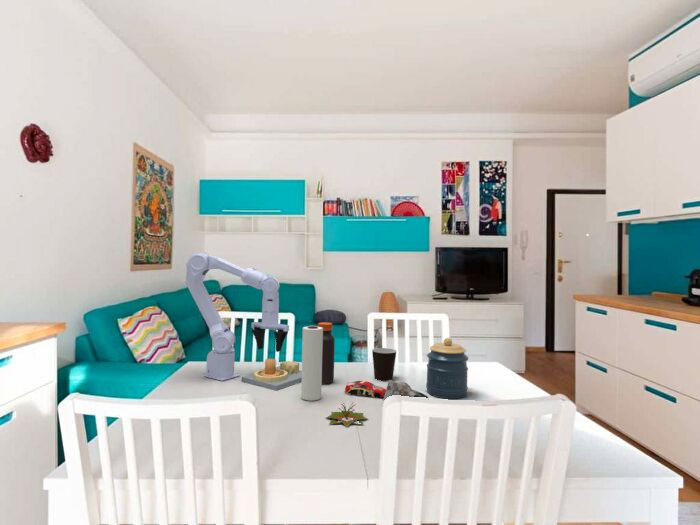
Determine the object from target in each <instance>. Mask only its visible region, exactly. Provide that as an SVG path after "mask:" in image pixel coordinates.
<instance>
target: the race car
mask: <svg viewBox="0 0 700 525" xmlns="http://www.w3.org/2000/svg"><path fill="white" fill-rule="evenodd" d="M386 389H387V388H385V387H382V386H378V385H375V384H374V383H372V382H370V381H367V380H357V381H356V380H355V381H352V382H347V383H346V385H345V388H344V393H345V394H348V395H350V396H353V397H355V396H358V397H359V396H361V397H368V398H369V397H370V398H375V399H380V398H384V396H385V392H386Z"/></svg>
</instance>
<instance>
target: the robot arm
mask: <svg viewBox="0 0 700 525" xmlns="http://www.w3.org/2000/svg"><path fill="white" fill-rule="evenodd" d="M185 266H186V274H185V285H186V286H187V288H188V290H189V292H190V294H191V296H192V298H193V300H194V302H195V304H196V306H197V307H198V310H199V312H200V314H201V315H202V318H203V319H204V321H205V323H206V325H207V327H208V329H209V335H210V338H211V341H212V342H211V343H212V345H211V346H212V348H213V349H212V350H210V351H209V352H208V354H207V356H206V373H205V374H204V377H207V378H210V379H214V380H218V381H220V382H222V381H227V380H230V379H234V378H237V377H240V375H241V374H239V373H235V355H236V354H235V353H236V352H235V351H236V350H235V348H234V346H233V345H234V344H235V343H236V334H235V333H234V332H233V331H232V330H230V329H229V327H228V326H227V325H226V323H225V322H224V321H223V319H222V318H221V315H220V313H219V311H218V309H217V308H216V306H215V304H214V302H213V300H212V298H211V296H210V294H209V292H208V290H207V288H206V286H205V285H204V280H205V278H206V274H207V273H208V272H209V271H210V270H221V271H223V272H226V273H229V274H232V275H233V276H236V277H239V278H240V280H241V281H242V283H243V284H246V285H248V286H250V287H252V288H255V289H256V290H262V302H261V304H262V305H261V306H262V308H261V321H260V322H259V321H253V322H251V326H250V327H251V329H252V330H251V333H252V334H253V336H254V339H255V341H256V346H257V350H261V349H263V348H264V343H265V342H264V341H265V332H266V330H271V331H274V332H273V335H274V338H275V352H278V353H279V352H282V347H283V344H284V342H285V339H286V337H287V335H288V333H289V332H290V325H289V324H283V323H279V307H280V301H279V300H280V298H279V296H280V294H279V289H280V282H279V279H277V278H276V277H274V276H270V274H269V273H264V272H261V271H259V270H258V268H256V267H248V268H245V269H244V268H242V267H241V266H238V265H237V264H234V263H232V262H229V260H228V261H227V260H226V259H224V258H222V257H218V256H215V255H210V254H208V253H206V252H205V253H203V252H202V253H200V252H196V253H193V254H191V255H190V256H189V258H188V261H187V262H186V265H185Z"/></svg>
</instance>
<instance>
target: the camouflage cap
mask: <svg viewBox="0 0 700 525" xmlns="http://www.w3.org/2000/svg"><path fill="white" fill-rule="evenodd" d="M387 382H388V383H387V385H386V388H385V389H386V392H385V396H384V397H383V400H382V402H383V401H384V400H385V399H386V398H387V397H389V396H392V395H401V396H409V397H426V398H429V396H427V395H426V394H425V393H423V392H420V391H418V390H415V389H412V387H411V386H410V385H409V384H408V383H407V382H405V381H394V380H393V379H392V380H389V381H387Z"/></svg>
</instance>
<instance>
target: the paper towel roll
mask: <svg viewBox="0 0 700 525" xmlns="http://www.w3.org/2000/svg"><path fill="white" fill-rule="evenodd" d="M301 343H302V344H301V347H302V349H301V350H302V351H301V371H302V382H300V383H301V387H300V388H301V389H300V390H301V392H300V398H301V399H302V400H305V401H312V402H313V401H318V400H320V399H321V398H322V389H323V388H322V385H323V384H322V346H323V328H322V327H318V325H310V324H309V326H303V327H302V342H301Z"/></svg>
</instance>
